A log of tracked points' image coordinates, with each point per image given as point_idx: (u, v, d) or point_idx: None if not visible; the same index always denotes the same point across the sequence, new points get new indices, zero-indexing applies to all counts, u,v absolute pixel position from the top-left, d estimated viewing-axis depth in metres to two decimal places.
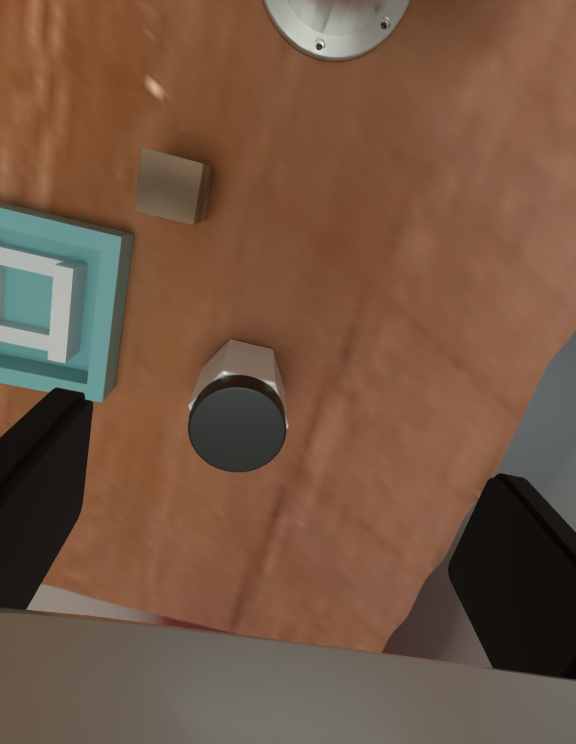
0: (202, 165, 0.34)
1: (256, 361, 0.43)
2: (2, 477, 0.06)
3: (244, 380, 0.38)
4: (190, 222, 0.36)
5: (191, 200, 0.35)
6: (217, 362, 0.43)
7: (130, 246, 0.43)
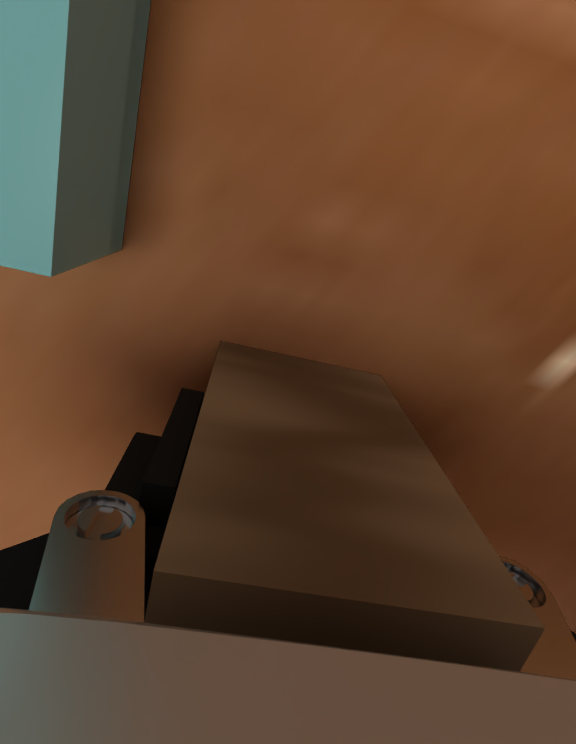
0: None
1: None
2: (182, 462, 0.08)
3: None
4: None
5: None
6: None
7: None
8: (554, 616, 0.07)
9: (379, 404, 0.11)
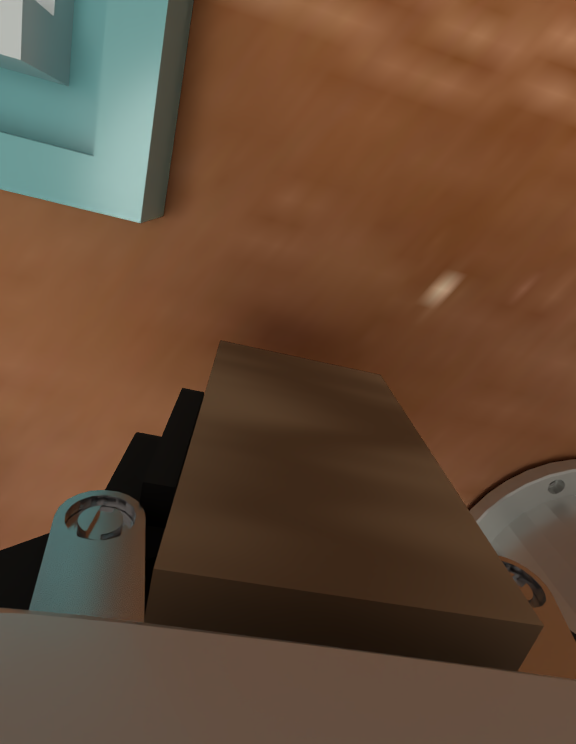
0: None
1: None
2: (183, 462, 0.08)
3: None
4: None
5: None
6: None
7: None
8: (554, 616, 0.07)
9: (379, 403, 0.11)
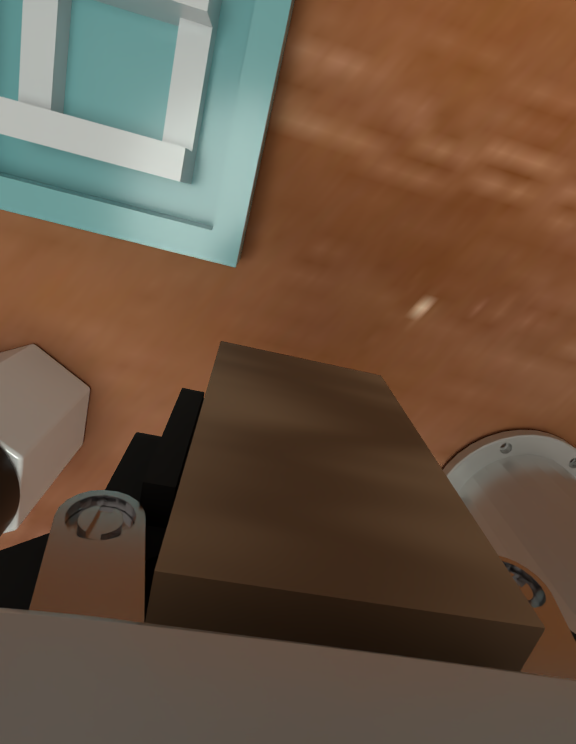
0: None
1: (54, 462, 0.28)
2: (183, 462, 0.08)
3: (7, 506, 0.22)
4: None
5: None
6: (43, 402, 0.27)
7: None
8: (554, 616, 0.07)
9: (379, 404, 0.11)
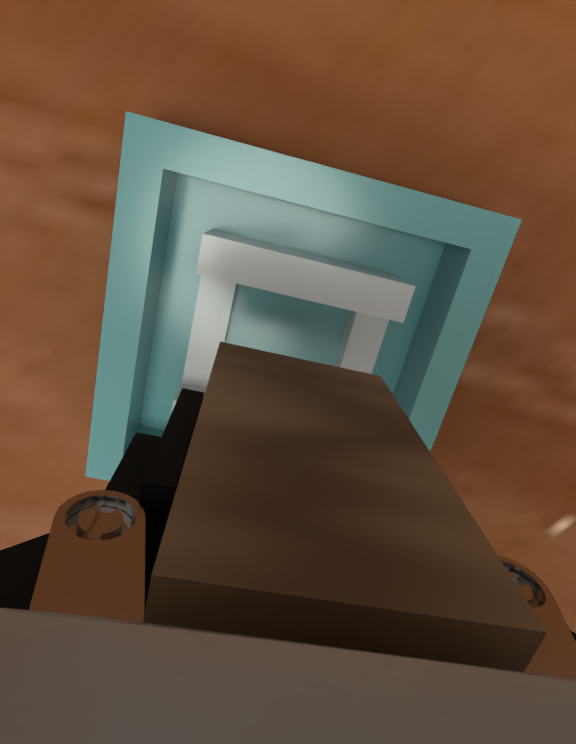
0: None
1: None
2: (183, 462, 0.08)
3: None
4: None
5: None
6: None
7: None
8: (554, 616, 0.07)
9: (379, 405, 0.11)
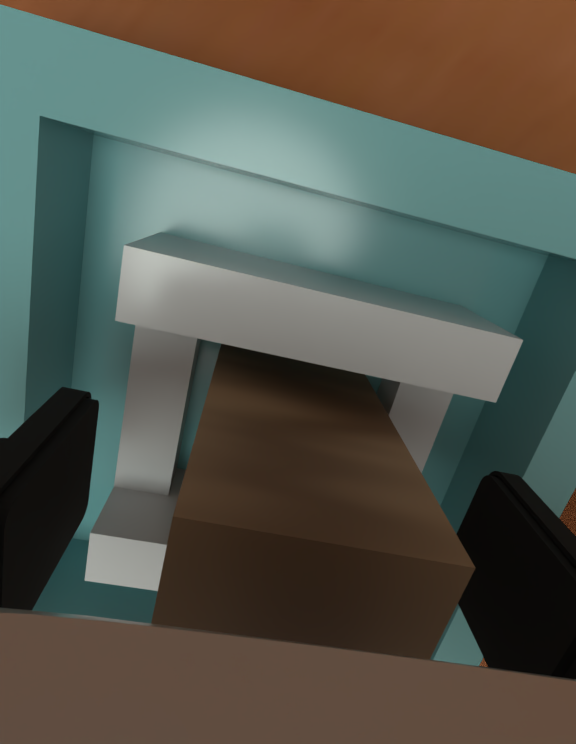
0: None
1: None
2: (12, 475, 0.06)
3: None
4: None
5: None
6: None
7: None
8: None
9: (360, 398, 0.12)
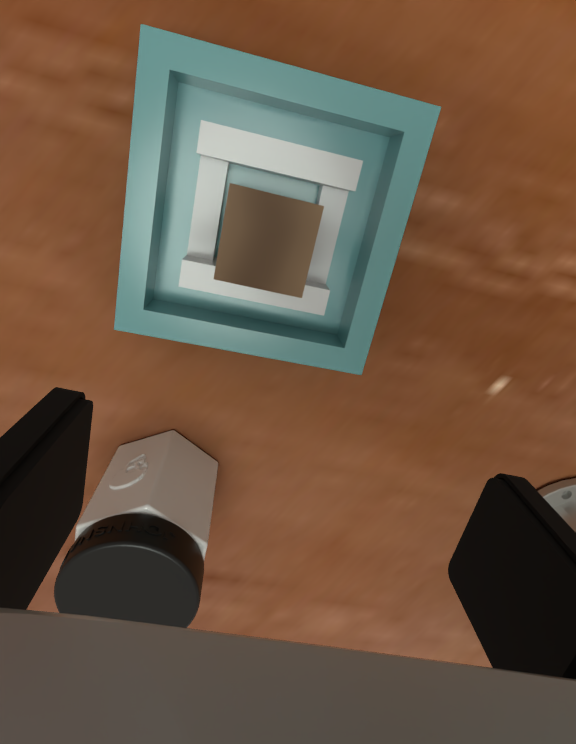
0: (299, 296, 0.23)
1: None
2: (2, 477, 0.06)
3: None
4: (217, 275, 0.23)
5: (249, 278, 0.23)
6: (199, 487, 0.32)
7: None
8: None
9: None
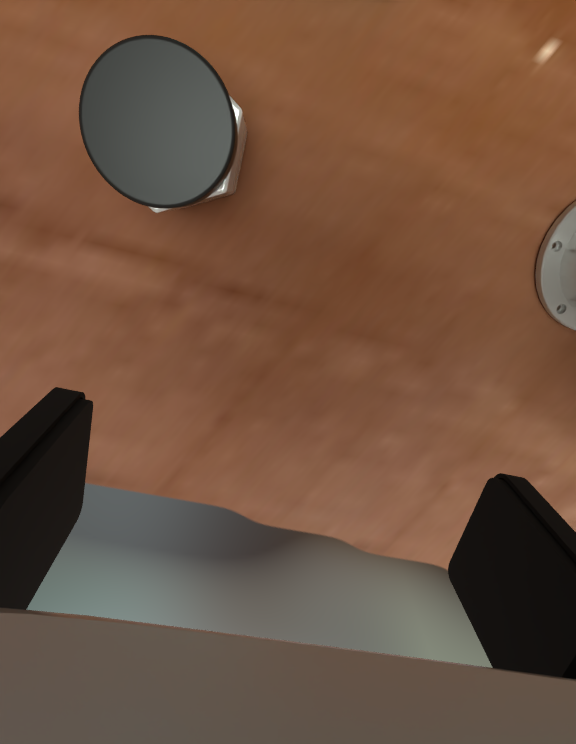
0: None
1: (236, 167, 0.31)
2: (2, 477, 0.06)
3: (236, 143, 0.26)
4: None
5: None
6: None
7: None
8: None
9: None
